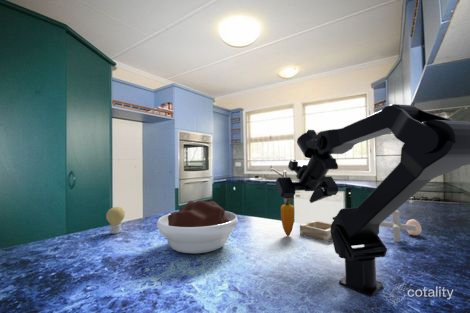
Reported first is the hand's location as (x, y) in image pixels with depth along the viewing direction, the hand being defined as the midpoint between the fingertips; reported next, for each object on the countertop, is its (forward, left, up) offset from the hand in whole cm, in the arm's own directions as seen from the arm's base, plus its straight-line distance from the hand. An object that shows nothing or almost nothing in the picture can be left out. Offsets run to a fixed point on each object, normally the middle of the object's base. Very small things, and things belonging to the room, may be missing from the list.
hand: (297, 202), depth 72 cm
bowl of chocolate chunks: (-27, +19, -14) cm, 35 cm away
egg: (+38, -22, -14) cm, 46 cm away
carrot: (+3, +7, -14) cm, 16 cm away
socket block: (+13, 0, -13) cm, 19 cm away
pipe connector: (+26, -20, -14) cm, 36 cm away
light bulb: (-44, +54, -14) cm, 71 cm away
